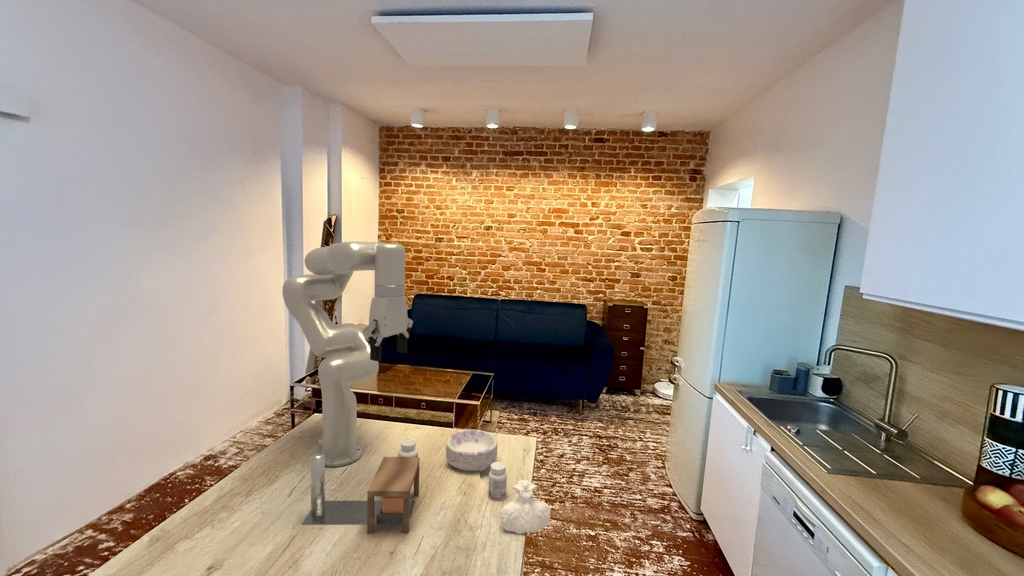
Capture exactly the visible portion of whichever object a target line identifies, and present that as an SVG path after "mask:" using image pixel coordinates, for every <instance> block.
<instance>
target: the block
mask: <svg viewBox="0 0 1024 576" xmlns="http://www.w3.org/2000/svg"><path fill="white" fill-rule="evenodd" d="M381 501H382V514H403V496H383V497H381Z"/></svg>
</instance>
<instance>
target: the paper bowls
mask: <svg viewBox="0 0 1024 576" xmlns="http://www.w3.org/2000/svg"><path fill="white" fill-rule="evenodd" d="M445 443H446V445H445V446H446V447H445V457H446V460H447V463H449V464H450V465H451V466H453V467H454V468H455V469H459V470H460V471H465V472H477V471H479V472H480V473H481V472H483V471H485V470H486V469H487V468H488V467H489V466H491V464H492V463H494V462H496V461H497V460H496V459H497V457H498V439H497V437H496V436H495V435H494V434H492V433H491V432H489V431H485V430H481V429H465V430H460V431H456V432H455V433H452V434H450V435H449V436H448V437H447V439H446V441H445Z"/></svg>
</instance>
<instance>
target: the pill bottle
mask: <svg viewBox="0 0 1024 576" xmlns="http://www.w3.org/2000/svg"><path fill="white" fill-rule="evenodd" d="M506 466H507V465H506V463H504V462H503V461H494V462H493V463H492V464H490V471H489V473H488V491H487V492H488V493H487V494H488V497H489V498H490V499H491V500H492V501H502V500H505V498H507V486H508V485H507V484H508V483H507V481H508V473H507V470H506V469H507V467H506Z"/></svg>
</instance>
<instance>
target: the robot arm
mask: <svg viewBox="0 0 1024 576" xmlns="http://www.w3.org/2000/svg"><path fill="white" fill-rule="evenodd" d="M405 248H406V247H404V245H403V244H400V243H399V244H398V243H385V242H379V241H378V242H377V241H342V242H337V243H332V244H330V245H329V246H323V247H318V248H317V247H316V248H314V249H312V250H310V251H309V252H308V253H307V254H306V255H305V258H304V266H305V268H306V270H308V271H309V273H311V274H309V273H308V274H297V275H294V276H291V277H289V278H287V279H286V280H285V281H284V283H283V285H282V290H281V291H282V298H283V301H284V302H283V303H284V304H285V307H286V309H287V311H288V312H289V314H290V315H291V316H292V317H293V318H294V319H295V321H296V322H297V324H298V325H299V326H300V328H301V331H302V333H303V335H304V337H305V339H306V341H307V343H308V344H309V345H308V346H309V347H310V349H311V351H312V352H313V354H314V355H315V356H316V357H318V358H324V359H323V360H322V361H321V362H320V363H319V366H318V369H317V371H318V372H317V373H318V380H319V383H320V390H321V401H322V404H321V406H322V438H321V439H319V440H318V444H319V445H321V451H319V452H323V453H324V454H325V467H333V468H334V467H335V468H336V467H342V466H347V465H350V464H352V463H355V462H356V461H358V460H359V459H360V458H361V457H362V455H363V449H362V447H361V446H360V445H357V441H358V440H357V438H358V436H357V432H358V431H357V430H358V429H357V428H358V427H357V425H358V424H357V420H358V418H357V413H358V412H357V410H358V408H357V407H358V405H357V398H356V394H355V393H354V392H353V391H352V390H351V389H350V386H351V385H353V384H357V383H361V382H364V381H367V380H370V379H371V380H372V378H374V377H376V375H377V374H378V373H379V368H380V367H379V366H380V364H379V363H380V362H381V361H382V345H381V343H382V340H384V338H388V337H391V336H395V335H397V336H398V337H396V352H397V353H401V354H402V353H403V354H407V353H408V339H409V338H410V333H411V331H412V327H413V324H414V321H413V320H412V319H411V318H409V317H408V305H407V298H406V296H405V295H406V294H405V293H406V285H405V284H406V282H405V281H406V249H405ZM359 271H360V272H361V271H374V297H373V296H372V298H371V301H370V307H369V312H368V313H369V316H368V325H367V326H366V327H364V328H363V330H362V329H361V327H360V326H358V324H354V323H351V322H350V323H349V322H347V323H346V322H345V323H340V324H339V323H338V324H337V323H336V324H335V323H333V322H332V321H331V319H330V316H329V315H328V313H327V312H326V311H325V310H324V309H323V308H322V307H320V306H319V305H317V304H316V303H313V302H316V301H327V300H328V301H329V300H334V299H338V298H339V297H340V296H342V294H343V293H344V291H345V289H346V288H347V285H348V283H349V282H350V279H351V278H352V276H353V274H354V272H359Z"/></svg>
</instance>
